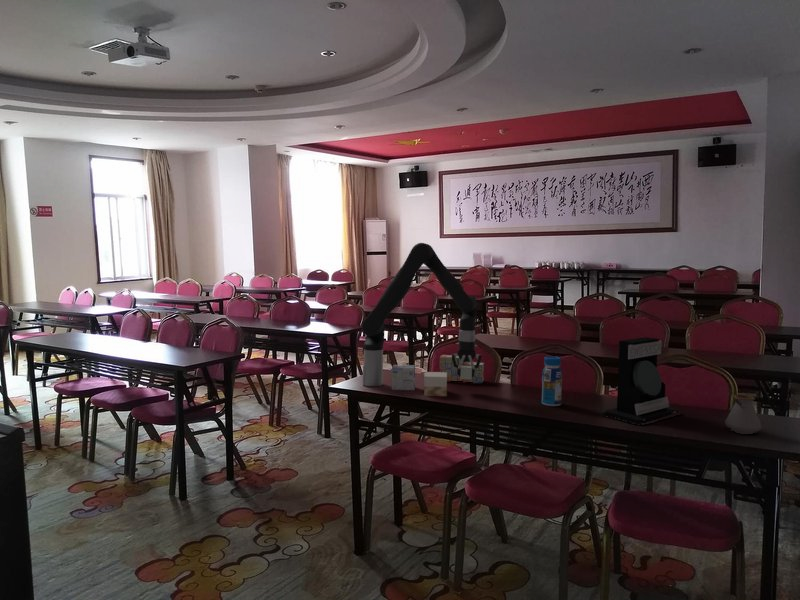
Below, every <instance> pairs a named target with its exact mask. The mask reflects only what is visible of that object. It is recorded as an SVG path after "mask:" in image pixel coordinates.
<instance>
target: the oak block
mask: <svg viewBox="0 0 800 600" xmlns="http://www.w3.org/2000/svg"><path fill="white" fill-rule="evenodd" d="M423 387H424V388H423V390H424V391H423V392H424V394H423V396H426V397H448V386H447V387H426V386H423Z"/></svg>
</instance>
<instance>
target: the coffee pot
mask: <svg viewBox="0 0 800 600" xmlns="http://www.w3.org/2000/svg"><path fill="white" fill-rule="evenodd" d="M733 398H734V399H731V402H734V401H735V403H734V404H733V407H732V408H731V411H730V412H729V414H728V415H727V417H726V419H725V422H724V423H725V426H726V427H727V428H728V427H729V428H731V429H734V430H738V431H743V432H756V431H758V432H760V431H761V429H762V423H761V421H760V419H759V417H758V414H757V412H756V409H755V405H754V404H753V403H754V400H755V399H756V398H755V397H754V396H753V395H748V394H747V395H746V394H745V395H744V394H735V395H734V394H733ZM729 428H728V429H729ZM731 429H730V430H731ZM756 433H757V432H756Z"/></svg>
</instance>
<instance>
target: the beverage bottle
mask: <svg viewBox="0 0 800 600" xmlns="http://www.w3.org/2000/svg"><path fill="white" fill-rule="evenodd" d="M543 360H544V361H543V362H544V363H543V364H544V368H543V370H542V372H541V373H542V376H541V382H542V383H541V384H542V385H541V386H542V387H541V388H542V389H541V404H543V405H545V406H549V407H558V406H561V405H562V389H563V388H562V387H563V386H562V384H563V378H562V376H563V371H562V370H561V368H560V367H561V365H562V364H561V362H562V357H559V356H556V355H555V356H553V355H549V356H545V357H544V359H543Z"/></svg>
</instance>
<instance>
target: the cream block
mask: <svg viewBox="0 0 800 600" xmlns="http://www.w3.org/2000/svg"><path fill="white" fill-rule="evenodd" d="M423 377H424V381H423V383H424V384H423V385H424V386H426V387H447V388H448V384H447V383H448V381H447V372H440V371H435V372H434V371H424V375H423ZM424 386H423V387H424Z"/></svg>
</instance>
